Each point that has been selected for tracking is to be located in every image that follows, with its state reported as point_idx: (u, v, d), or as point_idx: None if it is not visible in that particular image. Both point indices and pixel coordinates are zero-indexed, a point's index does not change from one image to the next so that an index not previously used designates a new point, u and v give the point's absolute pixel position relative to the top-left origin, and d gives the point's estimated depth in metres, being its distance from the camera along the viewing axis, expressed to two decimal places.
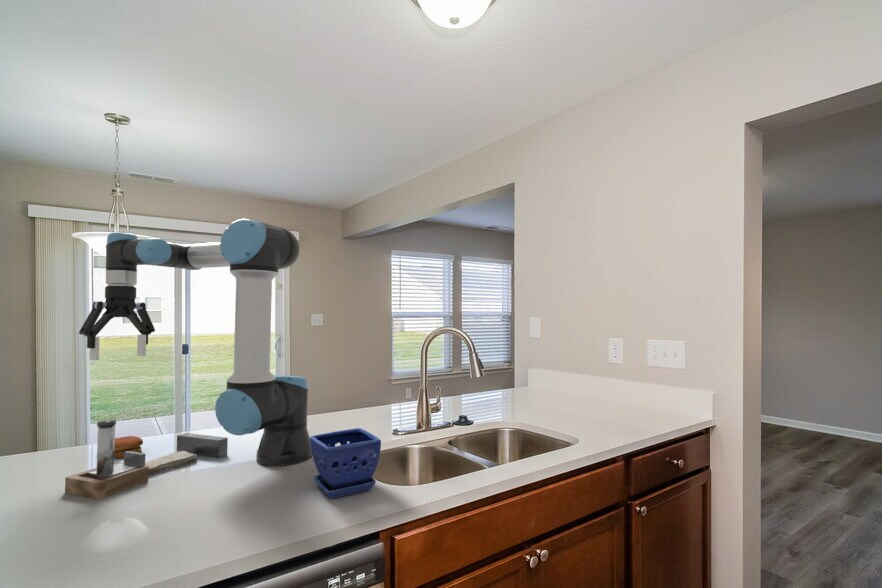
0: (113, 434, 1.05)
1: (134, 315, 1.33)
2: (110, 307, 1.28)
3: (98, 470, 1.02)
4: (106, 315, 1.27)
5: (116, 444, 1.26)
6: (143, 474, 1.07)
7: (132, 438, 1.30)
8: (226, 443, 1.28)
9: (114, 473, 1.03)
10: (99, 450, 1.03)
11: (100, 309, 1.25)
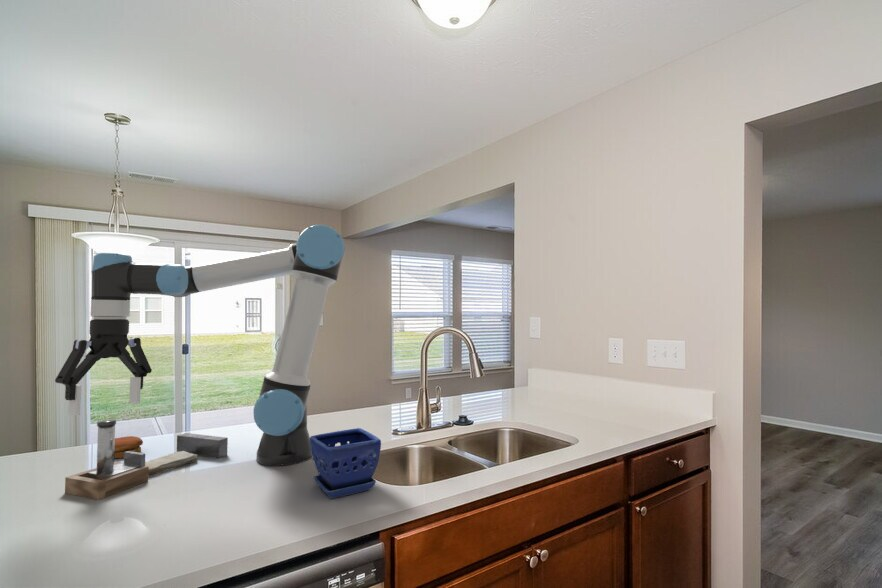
0: (113, 434, 1.05)
1: (126, 354, 1.08)
2: (96, 346, 1.02)
3: (98, 470, 1.02)
4: (90, 356, 1.01)
5: (116, 444, 1.26)
6: (143, 474, 1.07)
7: (132, 438, 1.30)
8: (226, 443, 1.28)
9: (114, 473, 1.03)
10: (99, 450, 1.03)
11: (83, 350, 0.99)
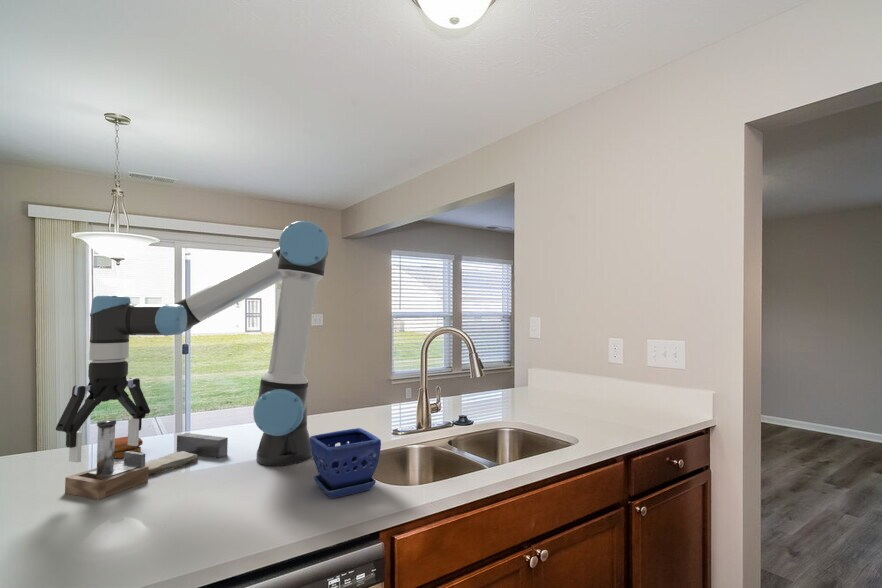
0: (113, 434, 1.05)
1: (125, 396, 1.07)
2: (95, 391, 1.01)
3: (98, 470, 1.02)
4: (89, 401, 1.01)
5: (116, 444, 1.26)
6: (143, 474, 1.07)
7: None
8: (226, 443, 1.28)
9: (114, 473, 1.03)
10: (99, 450, 1.03)
11: (82, 396, 0.99)
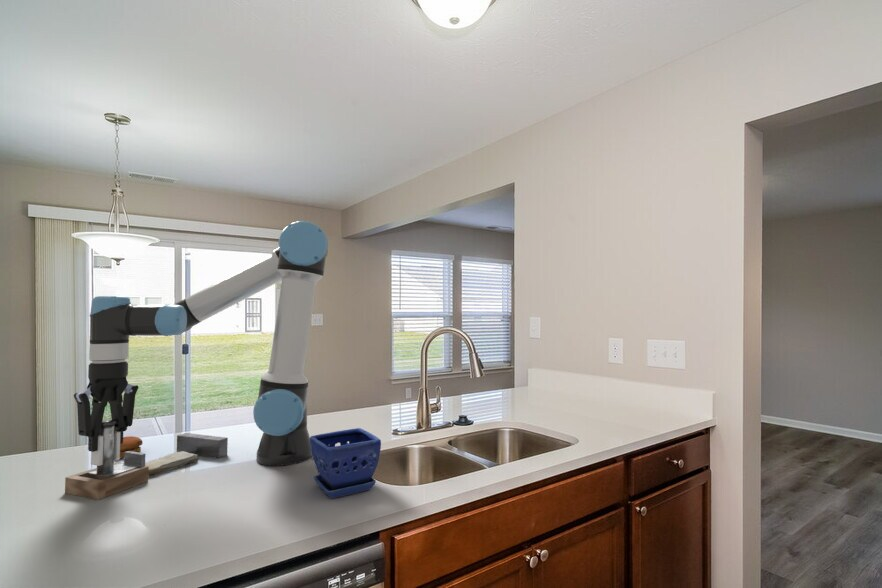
0: (113, 434, 1.05)
1: (119, 400, 1.06)
2: (97, 391, 1.02)
3: (98, 470, 1.03)
4: None
5: None
6: (143, 474, 1.07)
7: (131, 438, 1.30)
8: (226, 443, 1.28)
9: (114, 473, 1.03)
10: None
11: (87, 402, 1.00)
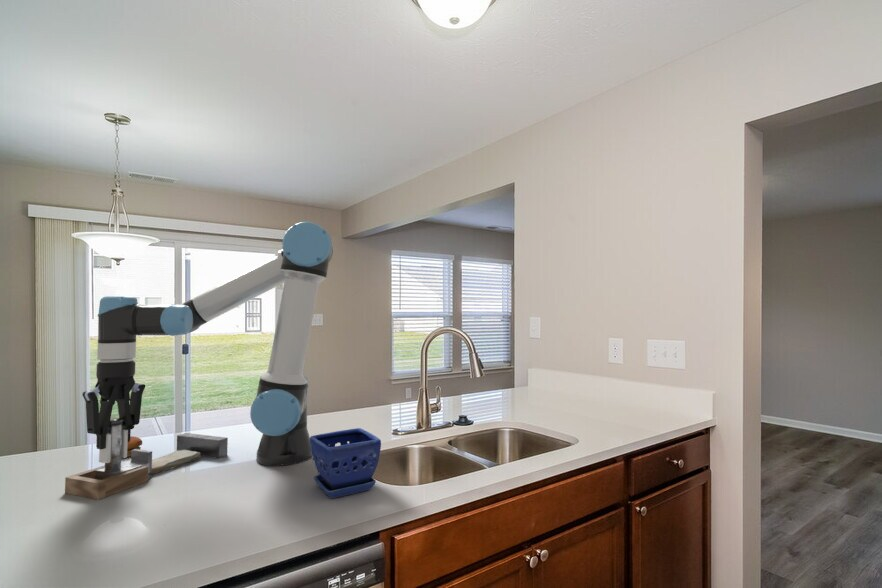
0: (121, 432, 1.06)
1: (126, 399, 1.07)
2: (105, 390, 1.03)
3: (106, 467, 1.04)
4: None
5: None
6: (143, 474, 1.07)
7: (131, 438, 1.30)
8: (226, 443, 1.28)
9: (122, 470, 1.05)
10: None
11: (96, 400, 1.01)
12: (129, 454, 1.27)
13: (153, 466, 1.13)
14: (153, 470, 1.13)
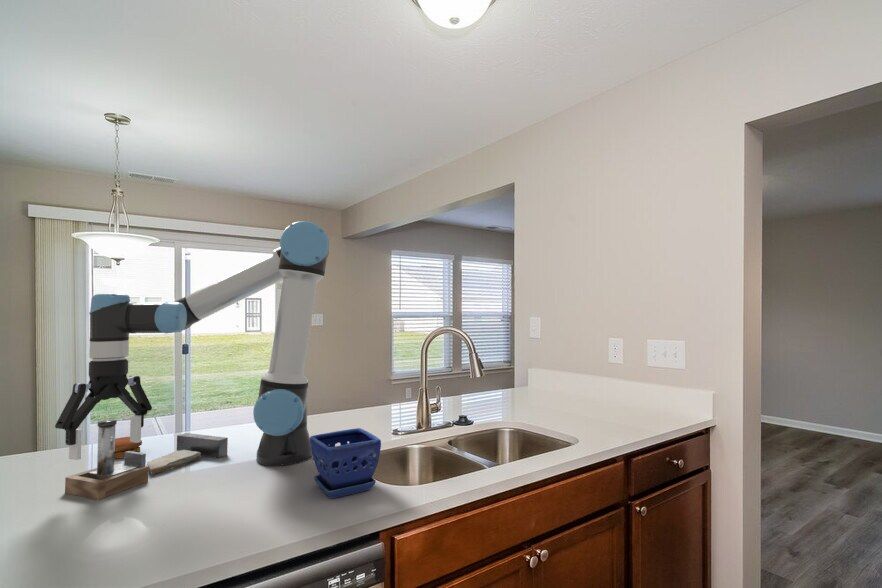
0: (113, 434, 1.05)
1: (126, 394, 1.07)
2: (95, 389, 1.01)
3: (98, 470, 1.03)
4: (90, 399, 1.01)
5: (115, 444, 1.26)
6: (143, 474, 1.07)
7: None
8: (226, 443, 1.28)
9: (114, 473, 1.03)
10: (99, 450, 1.03)
11: (83, 394, 0.99)
12: None
13: (154, 466, 1.13)
14: (154, 470, 1.13)
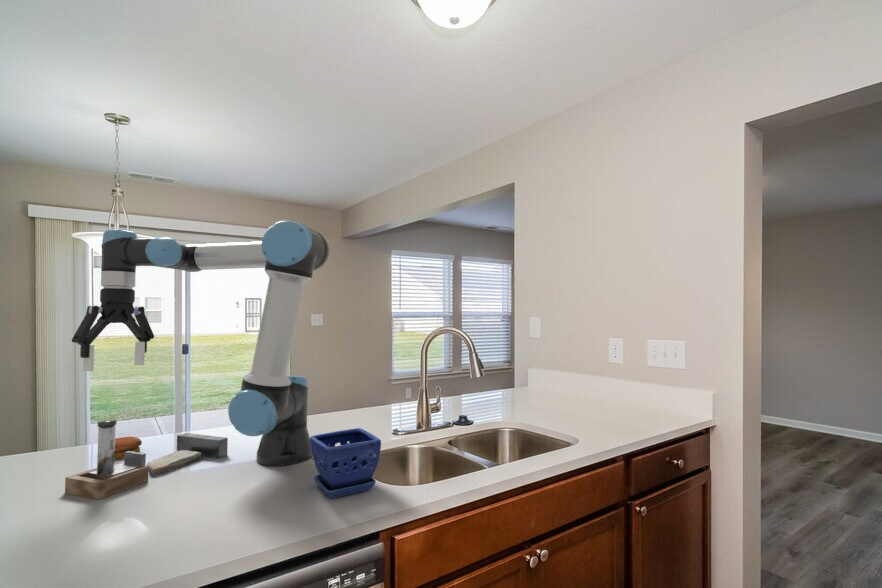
0: (113, 434, 1.05)
1: (132, 320, 1.21)
2: (106, 312, 1.15)
3: (98, 470, 1.03)
4: (102, 321, 1.15)
5: (115, 444, 1.26)
6: (143, 474, 1.07)
7: (131, 439, 1.30)
8: (226, 443, 1.28)
9: (114, 473, 1.03)
10: (99, 450, 1.03)
11: (96, 314, 1.13)
12: None
13: (156, 466, 1.13)
14: (156, 470, 1.13)
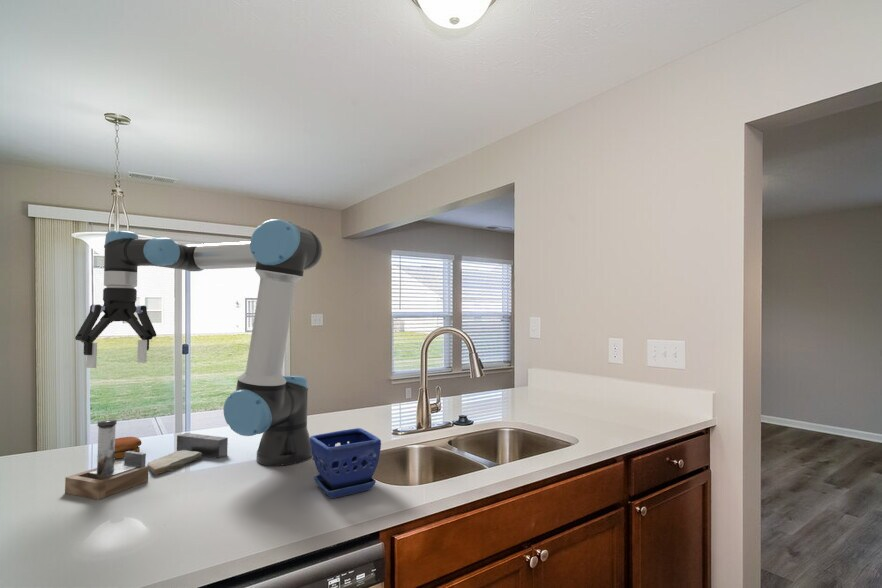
0: (113, 434, 1.05)
1: (134, 319, 1.25)
2: (109, 311, 1.19)
3: (98, 470, 1.03)
4: (104, 319, 1.19)
5: None
6: (143, 474, 1.07)
7: (130, 439, 1.29)
8: (226, 443, 1.28)
9: (114, 473, 1.03)
10: (99, 450, 1.03)
11: (98, 313, 1.16)
12: None
13: (157, 466, 1.13)
14: (157, 470, 1.13)
